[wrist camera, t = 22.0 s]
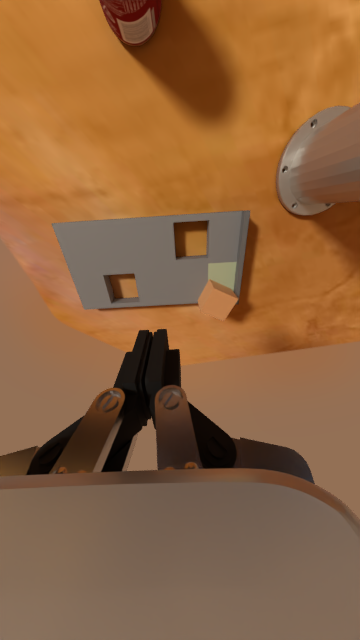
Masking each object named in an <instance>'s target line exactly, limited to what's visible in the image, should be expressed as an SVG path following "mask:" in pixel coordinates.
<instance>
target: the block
mask: <svg viewBox="0 0 360 640" xmlns="http://www.w3.org/2000/svg"><path fill="white" fill-rule="evenodd" d="M237 301H238V298H237V296H236V295H235V293H234V292H233V291H232V289H231V288H228V287H226V286H224V285H222V284H220V283H217V282H215V281H213V280H211V279H209V280H208V282H207V284H206V286H205V288H204V290H203V291H202V293H201V295H200V297H199V299H198V304H199V309H200V312H202V313H204V314H207V315H209V316H212V317H214V318H216V319H219V320H221V321H224V320H225V319H226V317H227V316H228V314H229V313H230V311H231V310H232V308H233V307H234V305H235V304H236V302H237Z"/></svg>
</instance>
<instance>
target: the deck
mask: <svg viewBox="0 0 360 640" xmlns="http://www.w3.org/2000/svg"><path fill="white" fill-rule="evenodd" d="M249 217H250V211H232V212H216V213H201V214H186V215H171V216H156V217H141V218H126V219H111V220H95V221H80V222H65V223H52V226H53V229H54V231H55V234H56V237H57V239H58V242H59V244H60V247H61V250H62V252H63V255H64V257H65V260H66V263H67V265H68V268H69V271H70V273H71V276H72V278H73V281H74V284H75V286H76V289H77V292H78V294H79V297H80V299H81V302H82V305H83V307H84V309H102V308H120V307H138V306H156V305H174V304H191V303H198V299H199V297H200V295H201V293H202V291H203V290H204V288H205V286H206V284H207V282H208V280H209V279H211V280H213V281H215V282H217V283H220V284H222V285H224V286H226V287H228V288H231V289H232V291H233V292H234V293H235V295H236V296H237V298H238V301H237V302H236V304H238V303H239V295H240V287H241V279H242V272H243V264H244V256H245V248H246V240H247V232H248V224H249ZM205 220H207V255H201V256H184V257H176V253H175V238H174V222H189V221H205ZM132 273H134V274H135V280H136V285H137V290H138V295H139V297H135V298H117V299H115V297H114V294H113V290H112V286H111V283H110V279H109V275H115V274H132Z"/></svg>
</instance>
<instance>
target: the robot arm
mask: <svg viewBox="0 0 360 640" xmlns="http://www.w3.org/2000/svg"><path fill="white" fill-rule="evenodd" d="M282 169H283V170H284V171H283V172H282ZM276 188H277V194H278V197H279V200H280V202H281V203H282V205H283V206H284V207H285V208H286V209H287V210H288V211H290V212H291V213H293V214H297V215H314V214H317V213H320V212H322V211H325V210H327V209H328V208H330V207H331V206H333V205H334V204H336V203H343V202H358V201H360V103H358V104H357V105H355V106H353V107H352V108H350V107H348V106H335V107H330V108H327V109H325V110H323V111H321V112H319V113H317V114H316V115H314V116H313V117H311V118H310V119H309V120H307V121H306V122H305V123H304V124H303V125H302V126H301V127H300V128H299V129H298V130H297V131H296V132H295V133H294V135H293V136H292V138H291V139H290V141H289V142H288V144H287V145H286V147H285V149H284V151H283V153H282V156H281V159H280V162H279V165H278V170H277V175H276ZM292 205H293V207H292ZM180 369H181V368H180V352H179V349H174V350H169V345H168V337H167V330H166V329H158V330H157V332H154V335H153V334H152V332H149V330H140V331H139V333H138V336H137V339H136V342H135V345H134V348H133V351H132V352H127V353H126V354H125V357H124V360H123V363H122V365H121V368H120V371H119V373H118V376H117V379H116V381H115V384H114V387H113V388H109V389H106V390H105V391H103V392H101V393H100V394H99V395H97V397H96V398H95V399H94V401H93V402H92V404H91V406H90V407H89V409H88V411H87V412H86V414H85V415H84V416H83V417H82V418H80V419H79V420H77V421H76V422H74V423H73V424H72V425H70V426H69V427H68V428H66V429H65V430H63V431H62V432H60V433H59V434H58V435H56V436H55V437H53V438H52V439H51V440H49V441H48V442H47V443H46V444H44V445H43V446H42V447H40V448H39V447H38V446H35V447H31V448H28V449H24V450H20V451H17V452H13V453H10V454H6V455H2V456H0V640H360V519H359V518H358V517H357V516H356V515H355V514H354V513H353V512H352V510H351V509H350V508H349V507H348V506H346V504H344V503H343V502H342V501H341V500H340V499H338V498H337V497H335V496H334V495H332V494H331V493H330V492H328V491H326V490H324V489H322V488H321V487H319V486H317V485H315V483H314V480H313V477H312V474H311V471H310V468H309V466H308V464H307V462H306V461H305V460H304V458H303V457H302V456H301V455H300V454H299V453H297V452H296V451H295V450H292V449H290V448H287V447H283V446H278V445H274V444H269V443H264V442H259V441H255V440H249V439H245V438H240V439H235V438H231V437H230V436H229V435H228V434H227V433H225V432H224V431H223V430H222V429H221V428H219V427H218V426H217V425H216V424H215V423H213V422H212V421H211V420H210V419H209V418H207V417H206V416H205V415H204V414H203V413H201V412H200V411H199V410H198V409H197V408H195V407H194V406H193V405H192V404H190V403H189V402H188V401H187V397H186V394H185V391H184V390H183V389H182V388H181V370H180ZM151 416H152V419H153V424H154V428H155V429H156V443H157V467H158V470H150V471H127V468H128V465H129V462H130V458H131V455H132V452H133V449H134V446H135V443H136V440H137V435H138V434H137V433H138V432H139V431H140V430H141V429H142V426H147V420H148V419H151Z"/></svg>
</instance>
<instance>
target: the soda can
mask: <svg viewBox="0 0 360 640" xmlns="http://www.w3.org/2000/svg"><path fill="white" fill-rule="evenodd" d="M99 1H100V4H101V6H102V9H103V12H104V14H105V17H106V19H107V22H108V24H109V26H110V28H111V29H112V31H113V32H114V34H115V35H116V36H117V37H118V38H119V39H120V40H121V41H122V42H124V43H125V44H127V45H130V46H140V45H143V44H144V43H146V42H147V41H148V40H149V39H150V38H151V37H152V35H153V34H154V32H155V30H156V28H157V25H158V22H159V18H160V13H161V4H162V0H99Z"/></svg>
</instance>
